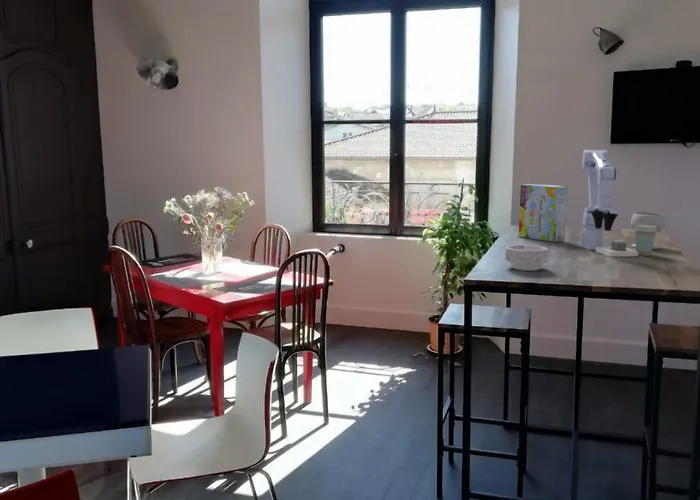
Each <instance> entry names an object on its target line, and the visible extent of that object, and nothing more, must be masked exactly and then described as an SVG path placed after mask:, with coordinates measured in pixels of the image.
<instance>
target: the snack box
mask: <svg viewBox="0 0 700 500" xmlns="http://www.w3.org/2000/svg"><path fill="white" fill-rule="evenodd" d="M519 198H520V199H519V213H518V215H519V219H518V236H519V238H523V237H525V238H524V239H530V238H531V240H538V241H543V242H545V241H546V242H552V243H555V242H556V243H557V242H564V241H565V232H566V218H567V216H566V215H567V201H568V199H567V198H568V186H566V185H565V186H562V185H553V184H533V183H532V184H530V183H528V184H525V183H524V184H523V183H522V184H520V197H519Z"/></svg>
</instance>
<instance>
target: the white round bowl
mask: <svg viewBox="0 0 700 500" xmlns="http://www.w3.org/2000/svg"><path fill="white" fill-rule="evenodd" d="M504 253H505V255H504V260H505V261H506V262H509V264H510V267H511V268H512V269H513V270H517V271H525V272H527V271H528V272H532V271H539V270H541V269H542V267H543V266H544V264H547V263H548V262H549V248H548V247H545V246H540V245H531V244H530V245H527V244H526V245H525V244H522V245H521V244H517V245H515V244H514V245H508V246H505V252H504Z"/></svg>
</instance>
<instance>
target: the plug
mask: <svg viewBox="0 0 700 500" xmlns="http://www.w3.org/2000/svg"><path fill="white" fill-rule="evenodd" d="M610 247H611V250H615V251H626V248H627V240H624V239H611V246H610Z"/></svg>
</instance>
